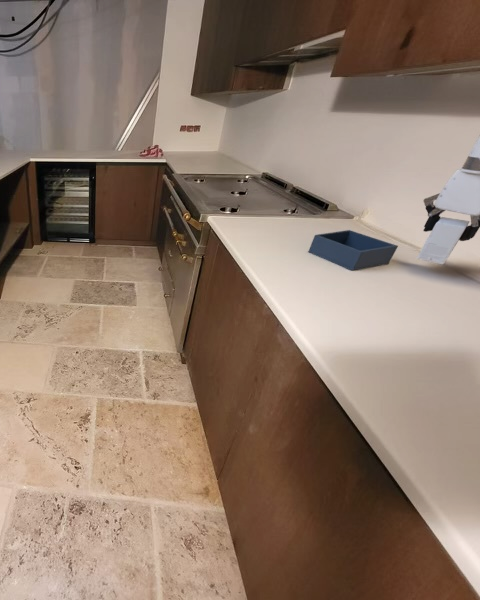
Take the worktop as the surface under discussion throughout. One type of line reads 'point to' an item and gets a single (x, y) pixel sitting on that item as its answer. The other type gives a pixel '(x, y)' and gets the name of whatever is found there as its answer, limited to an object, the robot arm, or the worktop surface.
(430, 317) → the worktop surface
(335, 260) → the tray
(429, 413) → the worktop surface
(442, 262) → the small box
